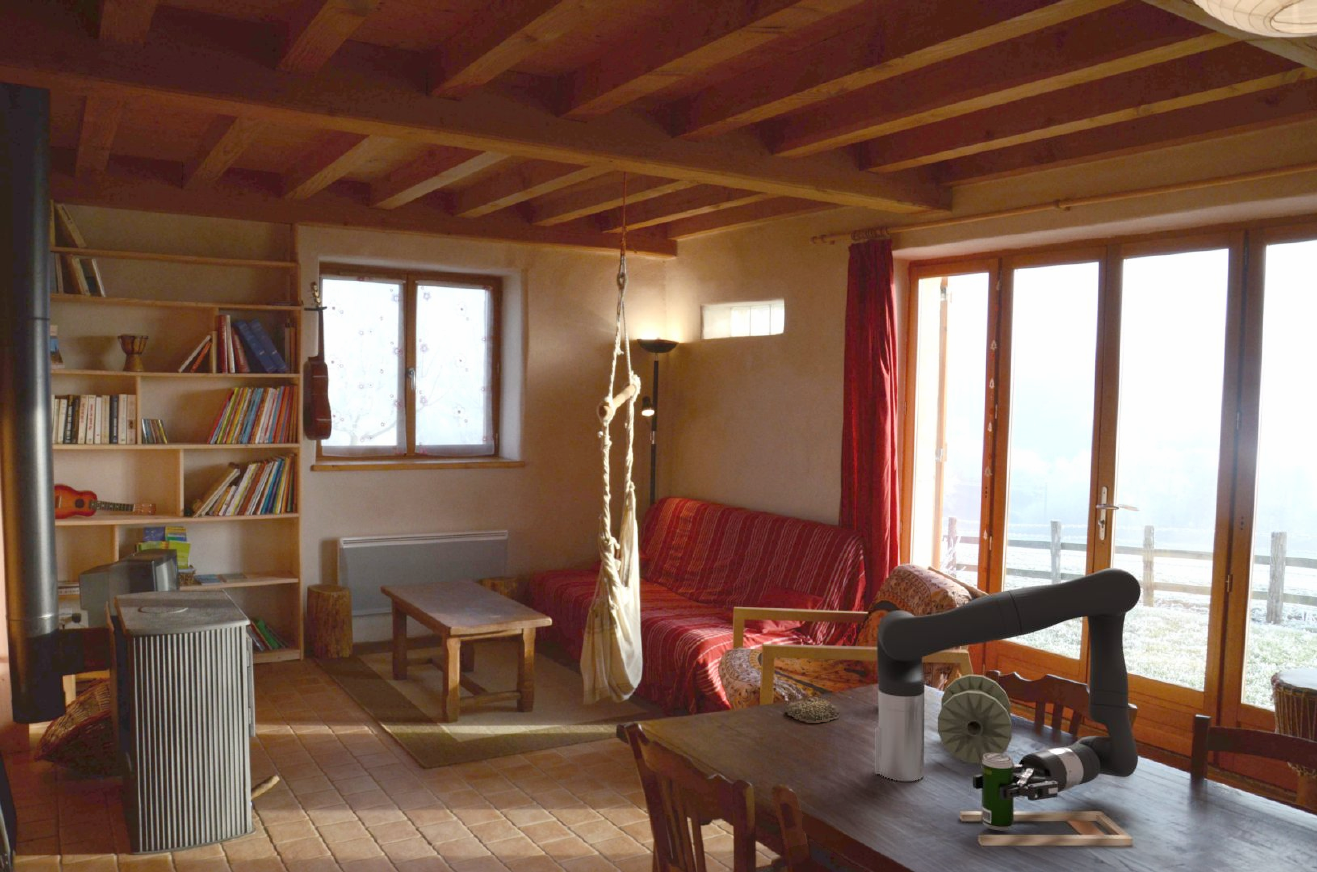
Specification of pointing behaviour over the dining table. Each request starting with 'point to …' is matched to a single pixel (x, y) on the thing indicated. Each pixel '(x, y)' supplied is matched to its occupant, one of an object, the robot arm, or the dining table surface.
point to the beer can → (997, 791)
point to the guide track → (1074, 818)
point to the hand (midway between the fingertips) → (987, 788)
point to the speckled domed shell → (813, 709)
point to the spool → (975, 718)
